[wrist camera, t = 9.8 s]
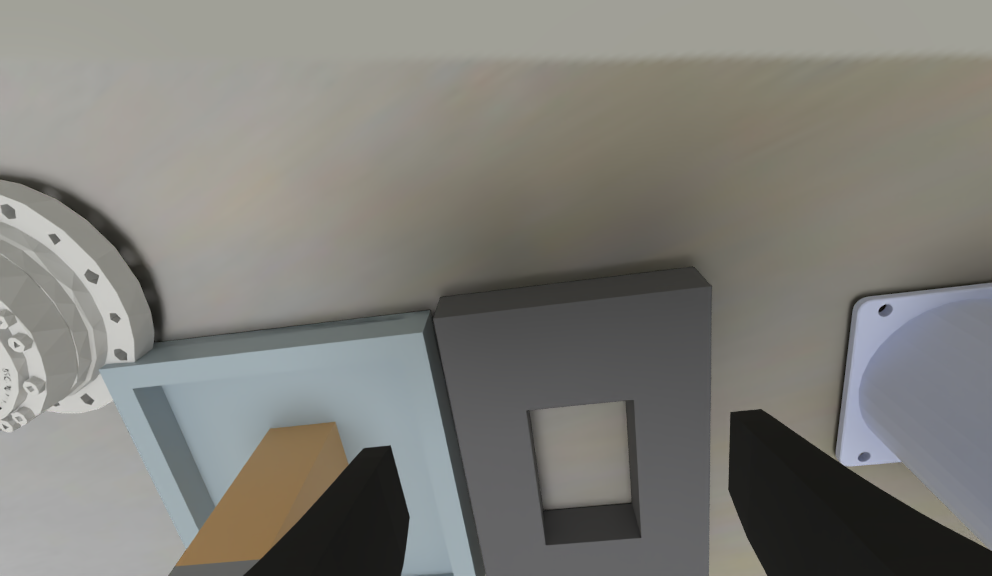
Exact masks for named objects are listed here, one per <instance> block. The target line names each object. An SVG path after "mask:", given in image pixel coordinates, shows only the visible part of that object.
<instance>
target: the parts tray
mask: <svg viewBox="0 0 992 576" xmlns="http://www.w3.org/2000/svg"><path fill="white" fill-rule="evenodd" d="M99 372H100V374H101V376H102V378H103V380H104V382H105V384H106V386H107V388H108V390H109V393H110V395H111V397H112V399H113V401H114V403H115V405H116V407H117V409H118V411H119V413H120V415H121V417H122V419H123V421H124V423H125V425H126V427H127V429H128V431H129V433H130V436H131V438H132V440H133V442H134V444H135V446H136V448H137V450H138V452H139V454H140V456H141V458H142V460H143V462H144V464H145V466H146V468H147V470H148V472H149V474H150V476H151V479H152V481H153V483H154V485H155V487H156V489H157V491H158V493H159V495H160V497H161V499H162V501H163V503H164V505H165V507H166V509H167V511H168V513H169V515H170V517H171V519H172V522H173V524H174V526H175V528H176V530H177V532H178V534H179V536H180V538H181V540H182V542H183V544H184V546H185V548H186V549H187V548H188V546H189V545H190V544H191V542H192V541H193V539H194V538H195V536H196V535H197V533H198V532H199V530H200V529H201V528H202V526H203V525H204V523H205V522H206V520H207V519H208V517H209V516H210V515H211V513H212V512H213V510H214V509H215V507H216V506H217V504H218V503H219V501H220V500H221V499H222V497H223V496H224V494H225V493H226V491H227V490H228V488H229V487H230V486H231V484H232V483H233V481H234V480H235V478H236V477H237V475H238V474H239V472H240V471H241V470H242V468H243V467H244V465H245V464H246V462H247V461H248V459H249V458H250V456H251V455H252V454H253V452H254V451H255V449H256V448H257V446H258V445H259V443H260V442H261V441H262V439H263V438H264V436H265V435H266V433H267V432H268V430H269V429H271V428H280V427H290V426H300V425H309V424H319V423H329V422H336V425H337V429H338V432H339V435H340V438H341V441H342V445H343V448H344V451H345V454H346V458H347V461H348V464H350V463H351V461H352V460H353V459H354V458H355V457H356V456H357V455H358V454H359V453H360V451H361V450H362V449H363V448H368V447H379V446H389V445H391V448H392V452H393V456H394V459H395V463H396V467H397V471H398V474H399V478H400V482H401V486H402V489H403V493H404V497H405V501H406V504H407V508H408V512H409V516H410V520H409V528H408V537H407V545H406V552H405V559H404V565H403V569H402V573H401V576H485V570H484V565H483V560H482V555H481V551H480V546H479V541H478V536H477V531H476V527H475V522H474V517H473V512H472V507H471V503H470V498H469V493H468V488H467V483H466V479H465V474H464V469H463V464H462V459H461V455H460V450H459V445H458V440H457V435H456V430H455V426H454V421H453V416H452V411H451V406H450V402H449V397H448V392H447V387H446V382H445V378H444V373H443V368H442V363H441V358H440V354H439V349H438V344H437V339H436V334H435V329H434V325H433V320H432V315H431V310H426V311H418V312H409V313H401V314H393V315H384V316H376V317H367V318H359V319H350V320H342V321H333V322H325V323H317V324H308V325H300V326H291V327H283V328H274V329H266V330H258V331H249V332H241V333H232V334H224V335H215V336H207V337H199V338H190V339H182V340H173V341H165V342H156V343H153V349H152V350H150V351H149V352H148V353H146V354H145V355H144V356H142V357H141V358H139V359H138V360H137V361H135V362H129V363H114V364H106V365H104V366H103V367H101V368H100V369H99Z"/></svg>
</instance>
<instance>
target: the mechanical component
mask: <svg viewBox="0 0 992 576" xmlns="http://www.w3.org/2000/svg"><path fill="white" fill-rule="evenodd" d="M153 343H154V327H153V321H152V316H151V311H150V308H149V306H148V303H147V301H146V298H145V296H144V293H143V291H142V288H141V286H140V283H139V281H138V280H137V278H136V277H135V275H134V274H133V273H132V271H131V270H130V268H129V267H128V265H127V264H126V262H125V261H124V260H123V258H122V257H121V255H120V254H119V252H118V251H117V249H116V248H115V247H114V246H113V245H112V244H111V243H110V242H109V241H108V240H107V239H106V238H105V237H104V236H103V235H102V234H101V233H100V232H99V231H98V230H97V229H96V228H94V227H93V226H92V225H91V224H90V223H89V222H88V221H87V220H86V219H84V218H83V217H81V216H80V215H79V214H77V213H76V212H74V211H73V210H71V209H70V208H69V207H67V206H66V205H64V204H63V203H61V202H60V201H58V200H57V199H55V198H53V197H50V196H48V195H46V194H43V193H41V192H39V191H36V190H34V189H32V188H29V187H27V186H25V185H22V184H19V183H15V182H10V181H5V180H0V431H1V430H3V431H5V432H8V433H11V432H12V431H14V430H16V429H18V428H20V427H21V426H23V425H25V424H27V423H28V422H30V421H31V420H32V419H34V418H35V417H37V416H38V415H40V414H41V413H43V412H44V411H51V412H57V413H83V412H87V411H92V410H96V409H99V408H101V407H103V406H105V405H107V404H108V403H110V402H112V401H113V399H112V397H111V395H110V393H109V390H108V388H107V386H106V384H105V382H104V380H103V378H102V376H101V374H100V372H99V369H100V368H101V367H103V366H104V365H106V364H114V363H129V362H135V361H137V360H138V359H139V358H141V357H142V356H144V355H145V354H146V353H148V352H149V351H150V350H152V349H153Z"/></svg>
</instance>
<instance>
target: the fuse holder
mask: <svg viewBox="0 0 992 576" xmlns="http://www.w3.org/2000/svg"><path fill="white" fill-rule="evenodd" d="M711 310H712V286H711V285H710V284H709V283H708V282H707V280H706V279H705V278H704V277H703V276H702V275H701V274H700V273H699V272H698V271H697V270H696V269H695V268H694V267H688V268H680V269H671V270H663V271H655V272H646V273H638V274H630V275H622V276H613V277H605V278H597V279H588V280H580V281H572V282H563V283H555V284H547V285H539V286H530V287H522V288H514V289H505V290H497V291H489V292H480V293H472V294H464V295H456V296H447V297H440V300H439V303H438V306H437V309H436V312H435V315H434V318H433V320H434V325H435V330H436V335H437V340H438V344H439V349H440V354H441V359H442V364H443V368H444V373H445V378H446V383H447V388H448V393H449V397H450V402H451V407H452V412H453V417H454V422H455V426H456V431H457V436H458V441H459V446H460V450H461V455H462V460H463V465H464V470H465V475H466V479H467V484H468V489H469V494H470V499H471V504H472V508H473V513H474V518H475V523H476V528H477V533H478V537H479V542H480V547H481V552H482V557H483V561H484V566H485V571H486V576H709V507H710V408H711ZM616 401H626V413H627V430H628V446H629V463H630V479H631V496H632V503H631V504H619V505H607V506H595V507H584V508H572V509H560V510H548V511H543V505H542V498H541V491H540V484H539V477H538V470H537V463H536V456H535V449H534V442H533V435H532V427H531V420H530V413H529V410H537V409H546V408H556V407H566V406H576V405H586V404H596V403H606V402H616Z"/></svg>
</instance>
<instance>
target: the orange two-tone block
mask: <svg viewBox="0 0 992 576" xmlns="http://www.w3.org/2000/svg"><path fill="white" fill-rule="evenodd" d="M348 465H349V464H348V461H347V458H346V454H345V451H344V448H343V445H342V441H341V438H340V435H339V432H338V429H337V425H336V422H329V423H319V424H309V425H300V426H290V427H280V428H271V429H269V430H268V432H267V433H266V435H265V436H264V438H263V439H262V441H261V442H260V443H259V445H258V446H257V448H256V449H255V451H254V452H253V454H252V455H251V456H250V458H249V459H248V461H247V462H246V464H245V465H244V467H243V468H242V470H241V471H240V472H239V474H238V475H237V477H236V478H235V480H234V481H233V483H232V484H231V486H230V487H229V488H228V490H227V491H226V493H225V494H224V496H223V497H222V499H221V500H220V501H219V503H218V504H217V506H216V507H215V509H214V510H213V512H212V513H211V515H210V516H209V517H208V519H207V520H206V522H205V523H204V525H203V526H202V528H201V529H200V530H199V532H198V533H197V535H196V536H195V538H194V539H193V541H192V542H191V544H190V545H189V546H188V548H187V549H186V551H185V552H184V554H183V555H182V557H181V558H180V559H179V561H178V562H177V564H176V565H175V567H174V568H173V570H172V571H171V573H170V574H169V575H168V576H243V575H244V574H245V573H246V572H247V571H248V570H250V569H251V568H252V567H253V566H254V565H255V564H256V563H257V562H258V561H259V560H260V559H261V558H262V557H263V556H264V555H265V554H266V553H267V552H268V551H269V550H270V549H271V548H272V547H273V546H274V545H275V544H276V543H277V542H278V541H279V540H280V539H281V538H282V537H283V536H284V535H285V534H286V533H287V532H288V531H289V530H290V529H291V528H292V527H293V526H294V525H295V524H296V523H297V522H298V521H299V520H300V519H301V517H302V516H303V515H304V514H305V513H306V512H307V511H308V510H309V509H310V508H311V506H312V505H313V504H314V503H315V502H316V501H317V500H318V499H319V498H320V497H321V495H322V494H323V493H324V492H325V491H326V490H327V489H328V488H329V486H330V485H331V484H332V483H333V482H334V481H335V480H336V479H337V477H338V476H339V475H340V474H341V473H342V472H343V470H344V469H345V468H346V467H347V466H348Z"/></svg>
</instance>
